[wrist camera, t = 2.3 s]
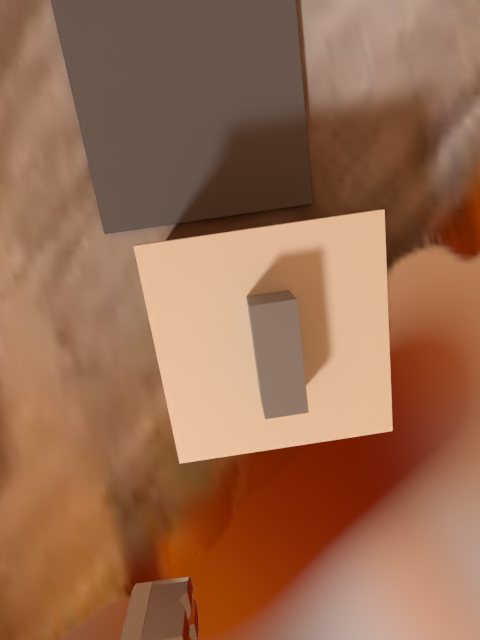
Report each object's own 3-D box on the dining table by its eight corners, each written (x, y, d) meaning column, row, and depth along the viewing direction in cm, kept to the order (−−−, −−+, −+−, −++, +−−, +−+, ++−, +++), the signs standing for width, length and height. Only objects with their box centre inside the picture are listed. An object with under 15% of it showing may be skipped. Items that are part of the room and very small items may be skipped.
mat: (50, -13, 30) (46, -18, 29) (290, -47, 30) (291, -52, 29) (106, 233, 35) (104, 234, 34) (311, 203, 35) (312, 203, 35)
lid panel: (140, 243, 28) (122, 250, 23) (371, 209, 28) (405, 208, 23) (182, 445, 32) (175, 490, 27) (380, 415, 32) (410, 453, 27)
